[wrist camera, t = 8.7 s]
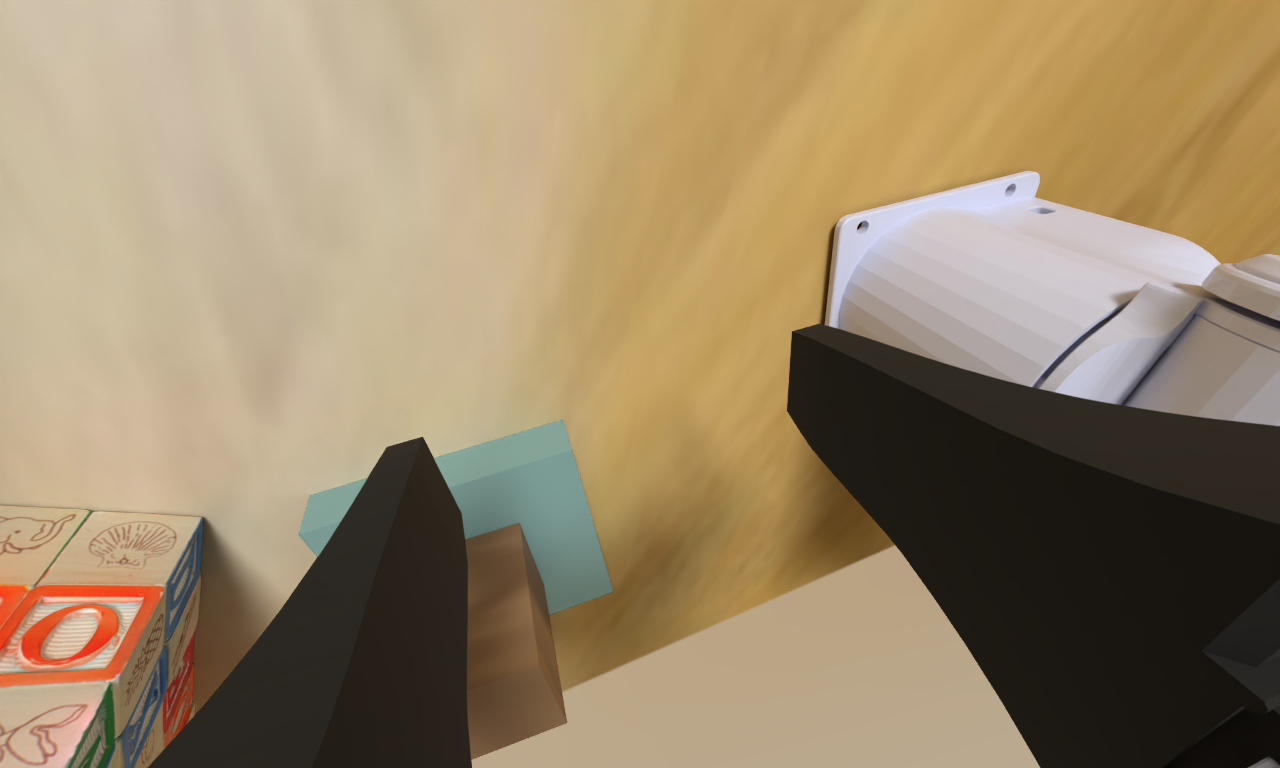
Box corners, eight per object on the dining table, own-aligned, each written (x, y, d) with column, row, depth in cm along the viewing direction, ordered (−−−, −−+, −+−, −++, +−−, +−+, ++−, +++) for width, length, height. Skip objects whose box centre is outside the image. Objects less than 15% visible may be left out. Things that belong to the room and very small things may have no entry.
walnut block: (519, 522, 21) (539, 664, 16) (544, 584, 24) (567, 722, 19) (406, 557, 20) (392, 718, 15) (445, 618, 23) (443, 770, 18)
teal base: (560, 411, 22) (572, 449, 20) (601, 552, 28) (613, 591, 26) (313, 485, 20) (298, 534, 18) (413, 617, 26) (410, 665, 24)
